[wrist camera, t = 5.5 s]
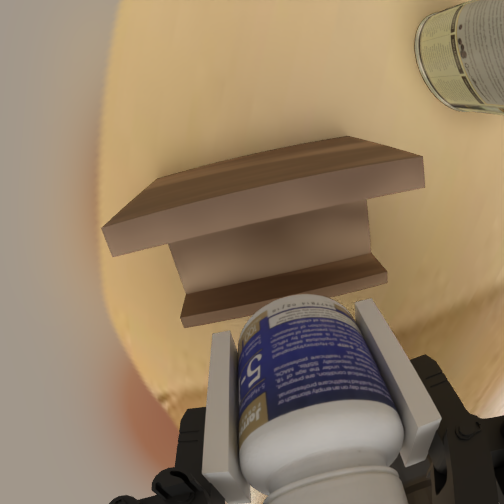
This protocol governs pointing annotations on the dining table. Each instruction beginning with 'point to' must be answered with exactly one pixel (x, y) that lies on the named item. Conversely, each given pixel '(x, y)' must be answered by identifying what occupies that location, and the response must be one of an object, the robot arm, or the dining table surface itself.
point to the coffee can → (464, 56)
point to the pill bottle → (315, 408)
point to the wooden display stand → (268, 224)
